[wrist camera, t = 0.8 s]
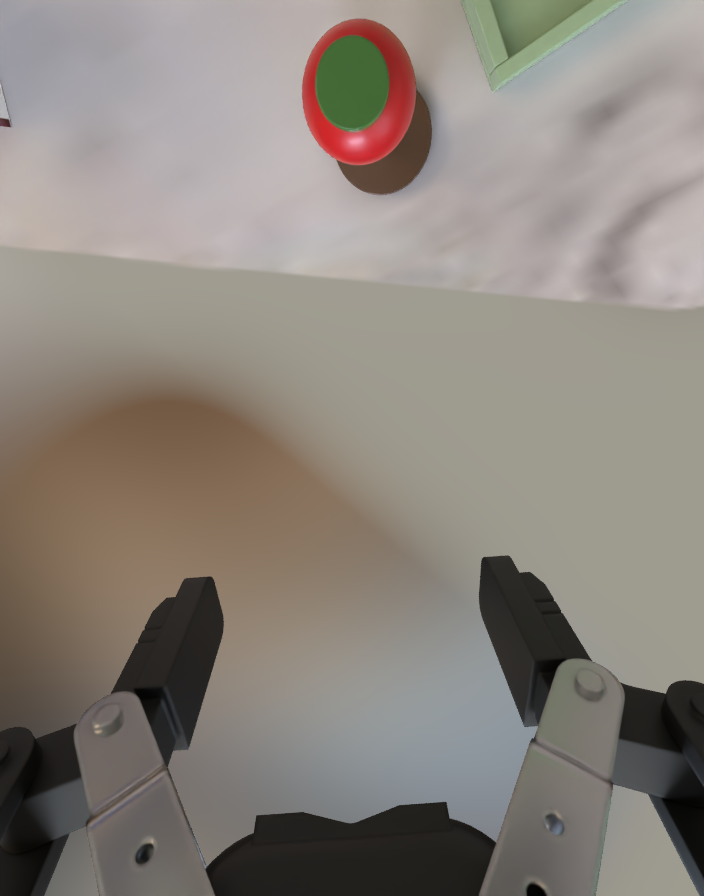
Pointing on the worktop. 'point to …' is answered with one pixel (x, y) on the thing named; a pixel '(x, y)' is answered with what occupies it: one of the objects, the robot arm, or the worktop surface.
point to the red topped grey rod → (367, 106)
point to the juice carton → (3, 111)
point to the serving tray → (527, 30)
